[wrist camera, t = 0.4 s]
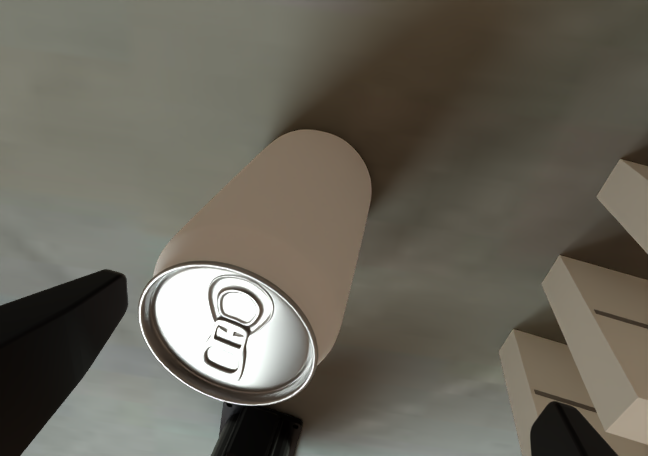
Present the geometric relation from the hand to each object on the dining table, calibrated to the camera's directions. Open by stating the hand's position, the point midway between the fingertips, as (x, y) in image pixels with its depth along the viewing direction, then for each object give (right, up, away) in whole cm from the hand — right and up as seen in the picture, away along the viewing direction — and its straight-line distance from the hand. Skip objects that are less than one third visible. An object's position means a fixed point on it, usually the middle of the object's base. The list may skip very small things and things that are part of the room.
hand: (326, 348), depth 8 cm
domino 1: (+15, 0, +13) cm, 20 cm away
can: (-1, +5, +14) cm, 15 cm away
